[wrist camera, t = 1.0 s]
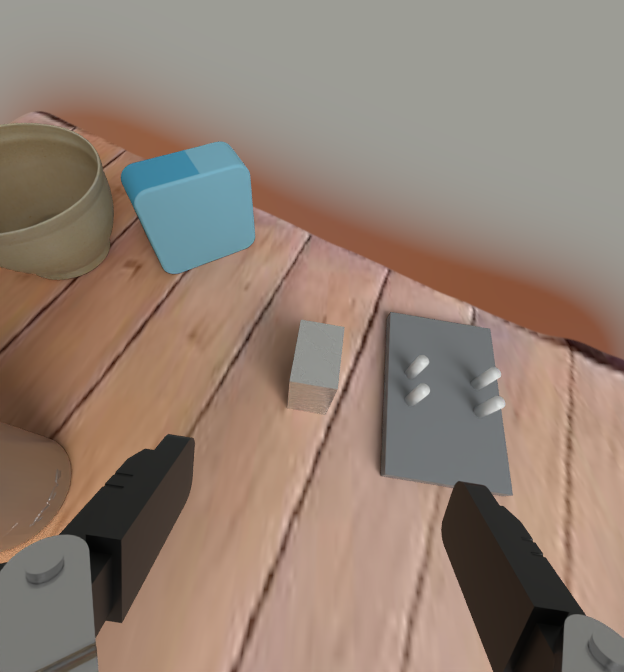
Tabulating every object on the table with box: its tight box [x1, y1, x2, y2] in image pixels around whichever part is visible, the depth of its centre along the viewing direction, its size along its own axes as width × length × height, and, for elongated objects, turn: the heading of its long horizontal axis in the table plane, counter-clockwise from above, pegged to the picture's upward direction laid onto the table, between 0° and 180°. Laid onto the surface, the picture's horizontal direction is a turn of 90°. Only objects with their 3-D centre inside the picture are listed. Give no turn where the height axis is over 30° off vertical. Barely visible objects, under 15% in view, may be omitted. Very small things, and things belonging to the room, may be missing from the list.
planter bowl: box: [0, 123, 114, 280], centre depth 36 cm, size 16×16×11 cm
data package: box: [121, 142, 255, 274], centre depth 38 cm, size 12×4×12 cm, turn 121°
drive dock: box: [381, 312, 513, 496], centre depth 34 cm, size 12×18×5 cm, turn 172°
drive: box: [287, 320, 344, 415], centre depth 32 cm, size 4×6×8 cm
